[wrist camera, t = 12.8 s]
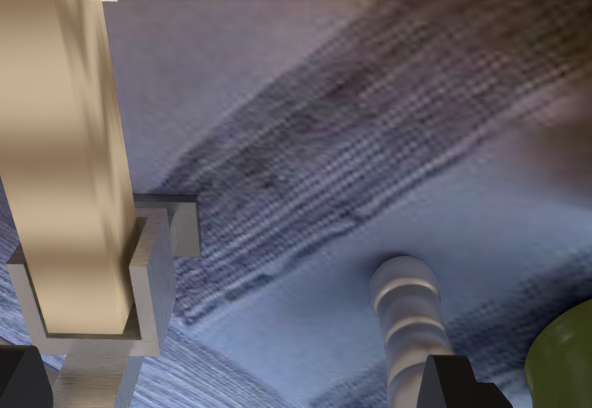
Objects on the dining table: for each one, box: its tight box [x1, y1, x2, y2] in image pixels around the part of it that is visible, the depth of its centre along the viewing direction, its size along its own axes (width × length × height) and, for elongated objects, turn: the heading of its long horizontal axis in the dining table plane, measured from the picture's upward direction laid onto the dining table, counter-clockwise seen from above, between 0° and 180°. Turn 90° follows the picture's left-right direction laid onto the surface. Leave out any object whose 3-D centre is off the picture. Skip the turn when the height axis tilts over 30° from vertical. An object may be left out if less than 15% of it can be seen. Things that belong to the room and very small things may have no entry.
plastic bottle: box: [369, 256, 455, 408], centre depth 46 cm, size 6×7×20 cm
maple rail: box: [0, 0, 140, 334], centre depth 30 cm, size 24×4×6 cm, turn 179°
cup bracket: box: [6, 194, 202, 408], centre depth 41 cm, size 12×8×22 cm, turn 179°
